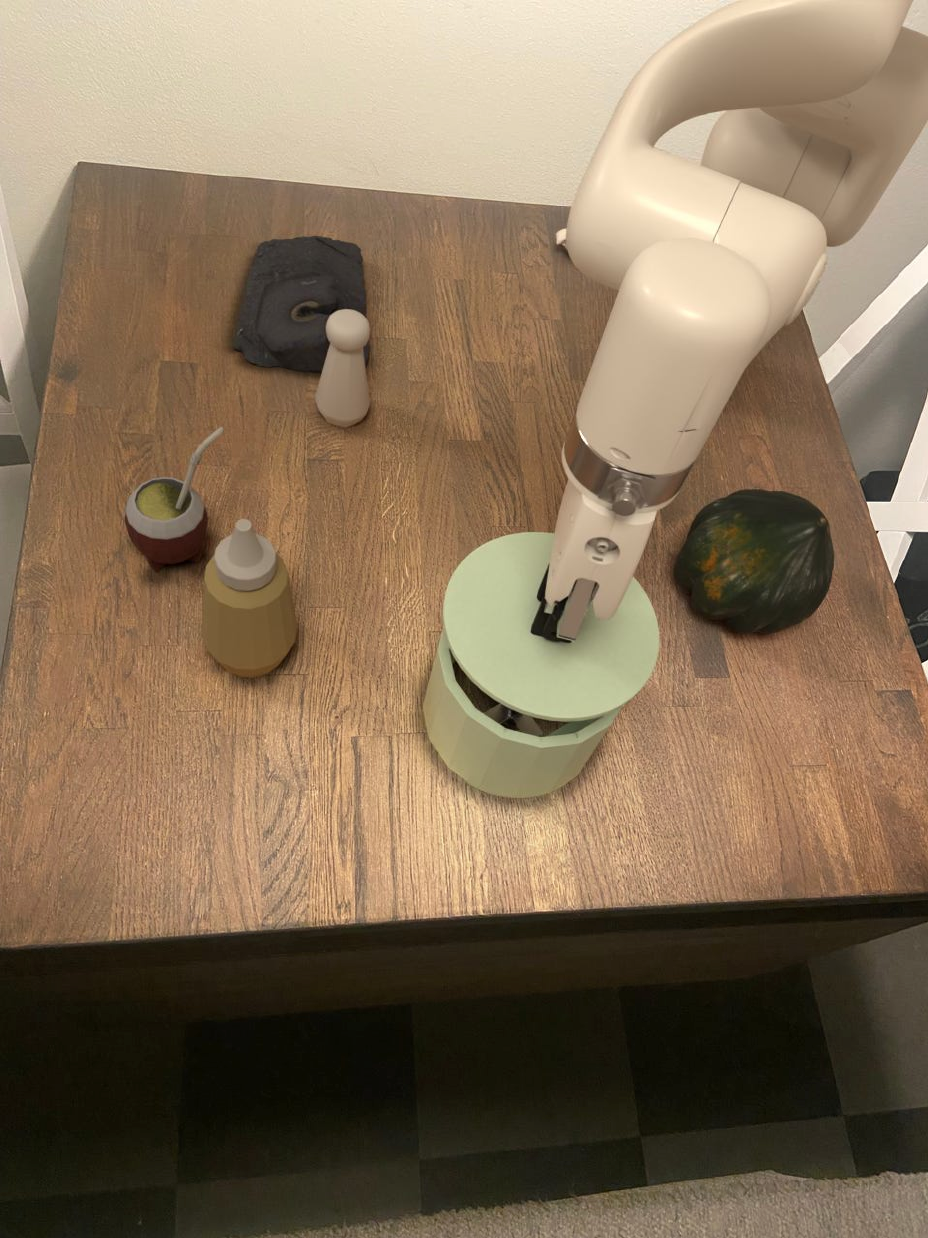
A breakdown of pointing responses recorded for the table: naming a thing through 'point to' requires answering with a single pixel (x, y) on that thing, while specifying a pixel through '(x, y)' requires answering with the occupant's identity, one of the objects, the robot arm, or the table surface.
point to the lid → (529, 664)
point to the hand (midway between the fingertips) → (554, 617)
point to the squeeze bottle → (247, 604)
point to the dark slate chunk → (298, 300)
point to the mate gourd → (169, 517)
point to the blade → (513, 719)
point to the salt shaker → (344, 370)
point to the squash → (757, 560)
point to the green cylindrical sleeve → (502, 741)
